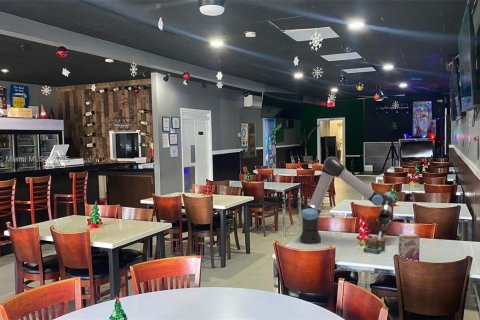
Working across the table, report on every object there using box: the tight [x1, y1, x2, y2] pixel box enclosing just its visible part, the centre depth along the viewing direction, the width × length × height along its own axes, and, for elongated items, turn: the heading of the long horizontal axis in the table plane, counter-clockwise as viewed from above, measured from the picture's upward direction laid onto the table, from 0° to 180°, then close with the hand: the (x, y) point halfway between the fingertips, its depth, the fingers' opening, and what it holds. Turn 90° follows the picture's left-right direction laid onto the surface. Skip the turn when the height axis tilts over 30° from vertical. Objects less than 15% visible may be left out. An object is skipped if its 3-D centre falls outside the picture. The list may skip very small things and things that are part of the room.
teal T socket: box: [363, 246, 383, 255], centre depth 277 cm, size 10×8×2 cm
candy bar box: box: [398, 233, 420, 262], centre depth 253 cm, size 11×5×16 cm, turn 84°
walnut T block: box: [364, 237, 386, 252], centre depth 280 cm, size 12×10×7 cm
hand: (379, 240), depth 290 cm, fingers closed
